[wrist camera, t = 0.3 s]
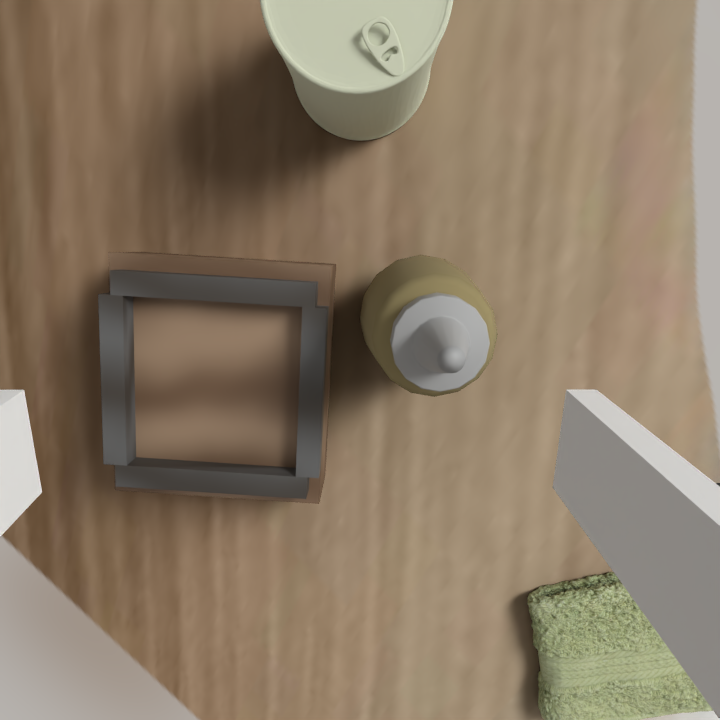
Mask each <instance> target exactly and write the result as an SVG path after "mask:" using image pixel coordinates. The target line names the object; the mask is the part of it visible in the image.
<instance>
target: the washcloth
mask: <svg viewBox="0 0 720 720" xmlns="http://www.w3.org/2000/svg"><path fill="white" fill-rule="evenodd" d="M527 600H528V602H527V604H528V606H529V612H530V617H531V619H532V622H533V623H532V624H531V627H532V629H533V641H534V643H533V645H534V646H535V648H536V649H537V650H538V657H539V664H540V670H541V671H539V673H538V681H539V683H538V687H539V692H538V694H539V697H538V708H539V709H540V713H541V716H542V718H543V719H544V720H640V719H644V718H651V717H658V716H664V715H670V714H676V713H687V712H698V711H713V709H712V708H711V706H710V705H709V704H708V702H707V701H706V700H705V698H704V697H703V695H702V694H701V693H700V691H699V690H698V688H697V687H696V686H695V684H694V683H693V681H692V680H691V679H690V677H689V676H688V675H687V673H686V672H685V670H684V669H683V668H682V666H681V665H680V663H679V662H678V661H677V659H676V658H675V656H674V655H673V654H672V652H671V651H670V650H669V648H668V647H667V645H666V644H665V643H664V641H663V640H662V638H661V637H660V636H659V634H658V633H657V632H656V630H655V629H654V627H653V626H652V625H651V623H650V622H649V620H648V619H647V618H646V616H645V615H644V613H643V612H642V611H641V609H640V608H639V607H638V605H637V604H636V602H635V601H634V600H633V598H632V597H631V595H630V594H629V593H628V591H627V590H626V588H625V587H624V586H623V584H622V583H621V582H620V580H619V579H618V577H617V576H616V575H615V573H613V572H609V573H607V574H605V575H598V576H597V575H593V576H592V577H590V576H587V577H586V578H584V579H577V580H571V581H570V582H568V581H562V582H559V583H558V584H554V585H544V586H540V587H539V588H538V589H537V590H535V591H533V592H531V593H529V595H528V598H527Z"/></svg>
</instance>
